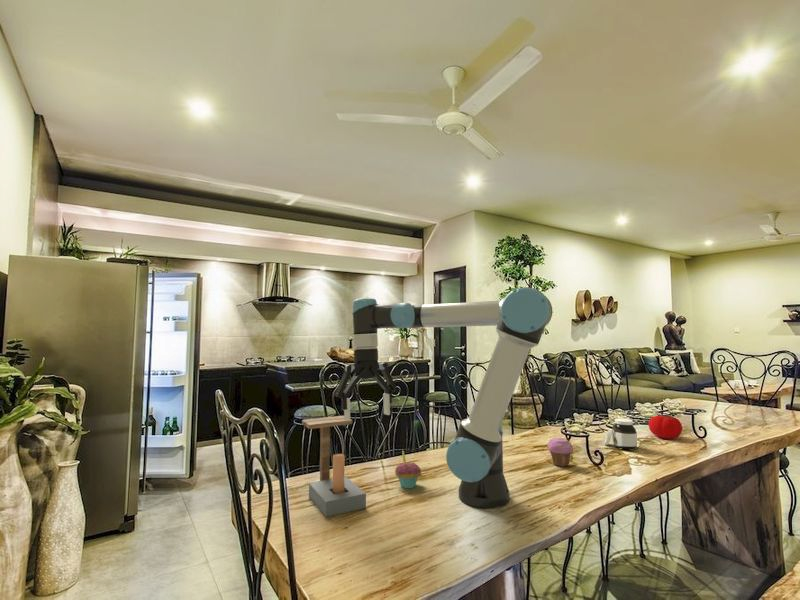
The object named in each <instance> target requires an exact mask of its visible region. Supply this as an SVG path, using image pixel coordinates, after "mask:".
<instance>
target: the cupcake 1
mask: <svg viewBox="0 0 800 600" xmlns="http://www.w3.org/2000/svg"><path fill="white" fill-rule="evenodd" d="M401 452H402V460H403V462H402V463H400V464H398V465H397V466H396V467H395V471H394V475H395V476H396V477H397V478H398V481H399V483H400V487H401V488H404V489H413V488H415V487H416V484H417V480H418V478H420V477H421V476H422V469H421V467H420V466H419V465H418V464H416V463H415V462H407V461H406V455H405V451H404V449H403V448H402V450H401Z"/></svg>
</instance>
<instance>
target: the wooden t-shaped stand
mask: <svg viewBox="0 0 800 600" xmlns="http://www.w3.org/2000/svg"><path fill="white" fill-rule="evenodd" d="M301 424H302V425H303V426H304V427H306V428H307V429H308V430H312V429H319V430H320V434H319V437H320V438H319V440H320V441H319V444H320V445H319V446H320V447H319V481H323V480H328V479H331V477H330V472H331V469H330V468H331V467H330V464H331V463H330V462H331V461H330V459H331V458H330V456H331V454H330V453H331V452H330V451H331V449H330V448H331V439H330V438H331V427H337V426H346V425H352V424H353V419H351V418H350V421H346V420H344V415H336V416H328V417H327V416H325V417H318V418H310V419H309V418H308V419H301Z"/></svg>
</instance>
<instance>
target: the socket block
mask: <svg viewBox="0 0 800 600" xmlns="http://www.w3.org/2000/svg"><path fill="white" fill-rule="evenodd" d="M308 497H309V498H310V500H311V501H312V503H314V505H315V506H316V507H317V509H318V510H319V511H320V512H321V513H322V514H323V516H324V518H327V517H331V516H332V517H333V516H337V515H340V514H344V513H349V512H353V511H358V510H363V509H366V508H367V493H366V492H365V491H364V490H363V489H361V488H360V487H359V486H358V485H357V484H355V483H354V482H353V481H352V480H351V479H350V478H348V477H347V476H346V475H344V493H339V494H333V478H330V479H328V480H323V481H320V480H319V481H314V482H313V481H312V482H309V483H308Z"/></svg>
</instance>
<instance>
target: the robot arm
mask: <svg viewBox="0 0 800 600" xmlns="http://www.w3.org/2000/svg"><path fill="white" fill-rule="evenodd" d="M351 313H352V321H353V323H352V324H353V335H352V336H353V347H354V348H355V349H353V361H354V363H353V365H350V364H345V365H344V367H343V370H344V371H343V373H342V376H341V379H340V382H339V383H338V385H337V389H336V391H335V393H334V396H335V397H337V398H339V399H340V401H341V402H340V403H341V405H340V406H341V410H343V412H344V413H343V416H344V420H346V421H350V419H351V398H349V395H351V393H352V391H353V390H354V389H355V387H356V386H357V385H358V383H359V381H361V379H364V380H365V379H374V380H375V381H376V382H377V384H378V385H379V386H380V388H381V389H382V390H383V391H384V393H382V397H383V398H382V399H383V402H382V403H383V415H386V416H390V415H391V404H392V402H393V400H392V395H393V394H394V392H396V391H397V390H398V388H397V385H396V383H395V381H394V379H393V376H392V375H391V373H390V371H389V368H388V367H389V366H388V362H385V361H384V362H380V363H379V361H378V360H379V349H378V348H377V347H378V346H379V344H378V341H379V340H378V339H379V338H378V329H380V330H381V329H417V328H418V329H423V328H451V327H455V328H457V327H488V326H496V328H495V331H496V334H497V336H498V339H497V341H496V345H495V347H494V349H493V352H492V354H491V357H490V360H489V363H488V365H487V367H486V371H485V373H484V375H483V378H482V381H481V384H480V386H479V388H478V391H477V395H476V396H475V400H474V403H473V405H472V408H471V411H470V413H469V416H468V417H467V418H465V419H462V420H461V421H460V423H459V425H458V429H457V432H456V434H455V437H454V439H453V440H452V441H451V442H450V444H449V445H448V447H447V450H446V454H445V460H446V464H447V466H448V468H449V470H450V472H451V473H452V474H453V475H454V476H455V477H456V478H458V479H459V480H460V485H459V486H458V499H459V500H460V501H461V502H462V503H464V504H466V505H469V506H471V507H475V508H482V509H495V508H501V507H502V508H503V507H504V506H507V505H508V504H509V503H510V499H511V498H510V495H511V494H510V489H509V487H508V483H507V480H506V477H505V475H504V457H503V455H504V453H503V449H504V448H503V443H504V442H503V435H504V431H503V427H502V426H503V425H502V423H503V420H504V419H505V418H504V417H505V416H506V413H507V410H508V407H509V405H510V402H511V399H512V397H513V394H514V392H515V389H516V386H517V384H518V381H519V379H520V376H521V374H522V372H523V371H522V370H523V368H524V366H525V362H526V361H527V358H528V355H529V352H530V350H531V349H533V348H534V347H537V346H539V343H540V340H541V338H542V336H543V334H544V330H545V328H546V327H547V325H549V323H550V321H551V320H552V316H553V306H552V302H551V301H550V299H549V298H548V296H546V295H545V294H544V293H543V292H542V291H540V290H538V289H536V288H532V287H529V286H528V287H526V286H525V287H524V286H522V287H519V288H515V289H513V290H511V291H510V292H509V293H507V294H506V296H504V297H502V299H500V300H486V301H485V300H484V301H470V302H451V303H448V302H447V303H434V304H433V303H432V304H430V303H429V304H414V305H413V304H411V303H410V302H397V303H395V302H394V303H393V302H392V303H383V304H381V303H379V304H378V302H377V300H376V298H371V297H369V298H357V299H354V300H353V302H352V312H351ZM378 370H380V371H381V373H382V375H383V377H384V379H383V378H382V376H381V374H380V373H379V372H378ZM353 371H354V372H355V373H354V374H353V376H352V379H350V377H351V375H352V372H353ZM349 379H350V381H349ZM348 382H349V383H348Z"/></svg>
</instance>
